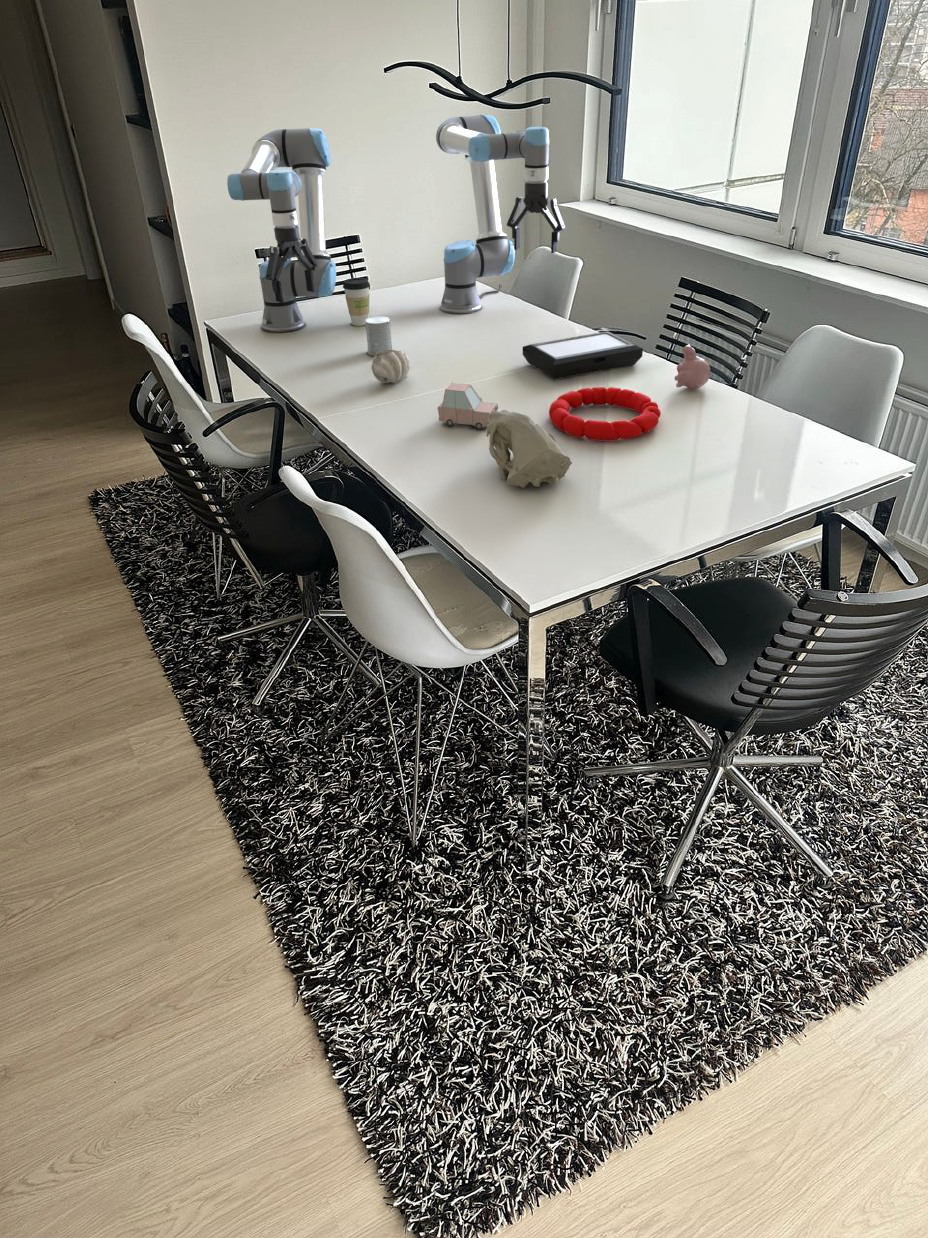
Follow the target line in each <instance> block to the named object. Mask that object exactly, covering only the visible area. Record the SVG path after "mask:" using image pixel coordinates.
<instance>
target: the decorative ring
mask: <svg viewBox="0 0 928 1238" xmlns="http://www.w3.org/2000/svg"><path fill="white" fill-rule="evenodd" d="M583 405H584V406H586V407H587V406H591V405H593V406H604V405H608V406H614V407H619V408H624V409H628V410H632V411H635V412H636V413H638V414H639V415H637V416H635V417H632V418H631V419H630V420H625V419H624V420H623V419H622V420H614V421H611V422H609V421H607V420H606V421H605V420H593V419H587V420H586V421H585V419H584V418H582V417H579V416H577V415H573V414H571V413H570V410H571V409H579V408H581V407H582V406H583ZM548 416H549V419H550V422H551V423H552V425H553V426H554V427H555V428H556V429H558V430H559V431H561V432H563V433H567V434H568V435H569V436H573V437H576V438H580V439H582V438H583V437H585V438H586V439H587V440H591V441H601V442H602V441H603V442H608V441H609V442H610V441H611V442H612V441H615V442H616V441H618V440H630V439H634V438H638V437H641V436H642V434H647V433H650V432H651V431H653V430H654V429H655V428H656V427H657V426H658V424H659V422H660V421H659V420H660V417H661V410H660V408H659V405H658V403H657V402H656V401H652V399H651V397H649V396H648V395H646V394H644V393H642V392H635V391H634V390H632V389H628V388H624V389H622V388H620V387H613V386H612V387H611V386H610V387H608V388H606V387H604V386H594V387H585V388H584V387H583V388H580V389H578V390H571V391H568V392H565V393H563V394H561V395H560V396H558V397H557V398H556V400H554V401H552V403H551V404H550V407H549V409H548Z"/></svg>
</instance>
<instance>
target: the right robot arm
mask: <svg viewBox="0 0 928 1238" xmlns="http://www.w3.org/2000/svg"><path fill="white" fill-rule="evenodd" d="M549 132H550V130H549V129H548V127H545V126H530V127H527V128H526V129H525V130H522V129H521V130H514V131H513V132H503V133H502V131H501V127H500V125H499V122H498V120H497V119H496V118H495V117H494V115H493V116H492V115H490V114H475V115H466V116H465V115H464V116H454V117H449V118H446V119H445V120H444V121H442V122H441V123H440V124H439V126H438V127H437V130H436V133H435V140H436V144H437V146H438V148H439V149H440V150H441V151H442V152H444V153H446V154H449V155H455V154H456V155H457V154H461V155H464V158H465V159H464V160H465V161H466V162H468V163H469V165H470V173H471V180H472V188H473V196H474V203H475V204H474V205H475V212H476V213H475V214H476V220H477V228H478V235H477V237H476V238H475V241H473V240H471V239H470V240H468V239H467V240H457V241H455V242H451V243H450V244H448V245H447V246H446V247H445V248H444V250H443V269H444V270H443V271H444V291H443V294H442V299H441V302H440V309H441V311H442V312H445V313H449V314H456V315H457V314H458V315H459V314H470V313H475V312H477V311H479V310H481V308H482V301H481V298H482V297H483V296H485V295H488V294H495V293H498V292H500V291H501V289H502V284H499V285H498V289H496V290H491V291H485V292H482V293H481V294H480V295H479V292H478V289H477V279H478V278H487V277H495V276H501V275H502V276H503V275H507V274H508V273H509V272H511V270H512V269H513V266H514V263H515V256H516V255H515V253H516V252H515V251H517V250H520V249H521V228H520V227H519V226H520V224H521V223H522V222H523V220H524V219H525V218H526V217H527V215H528V214H534V213H535V214H541V215H542V216H543V217H544V219H545V220H546V222H547V223H548V225H549V226H550V227H551V229H552V230H553V231H551V241H550V243H551V245H550V254H555V253H556V252H557V246H558V245H557V244H558V242H559V241H560V233H561V231H563V230H565V229H566V225H565V223H564V220H563V217H562V215H561V212H560V209H559V207H558V200H557V198H556V197H554V198H548V193H549V191H548V190H549V183H548V182H547V181H548V180H549V154H550V153H549V151H550V135H549V134H550V133H549ZM512 159H524V181H526V182H525V183H524V197H522V195H519V196H516V197H515V200H514V201H515V203H514V206H513V208H512V211H511V213H510V215H509V217H508V220H507V222H506V227H509V228H511V238H512V239H513V241H514V242H513V241H511V240H509V239H508V236H507V234H506V233H505V232H504V231H503V228H502V219H501V212H500V203H499V195H498V186H497V178H496V170H495V169H496V168H495V161H499V160H512ZM522 204H524V205H525V207H524V209H523V210H522V212H521V213H520V214H519V216H518V217H517V215H518V213H519V211H520V208H521V206H522ZM547 206H549V207H550V209H551V211H552V213H551V212H550V210H549V208H548V207H547ZM552 214H553V215H552Z"/></svg>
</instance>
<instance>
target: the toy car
mask: <svg viewBox="0 0 928 1238" xmlns="http://www.w3.org/2000/svg"><path fill="white" fill-rule="evenodd" d="M498 409H499V404H498V403H497V402H490V401H489V402H487V401H483V397H481V396H480V395H479V394H478V393H477V391H476V390H475V389H474V386H472V384H469V383H459V382H451V383H450V384H449V385H448V386H447V387H446V388H445V389H444V394H443V399H442V403H440V404H439V405H438V406H437V413H438V421H439V422H443V423H446V425H447V426H448V427H452V426H454V425H455V424H461V425H469V426H473V427H475V429H476V430H479V431H480V430H481V429H483V428H485V427H486V428H487V423H488V422H490V414H491V413H492V412H496V411H499V410H498Z"/></svg>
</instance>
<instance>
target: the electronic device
mask: <svg viewBox="0 0 928 1238" xmlns="http://www.w3.org/2000/svg"><path fill="white" fill-rule="evenodd" d="M643 353H644V348H643V347H642V346H639V345H637V344H635V343H633V342H631V341H629V340H627V339H625V338H623V337H621V336H619V335H617V334H615V333H613V332H610V331H608V330H606V331H600V332H594V333H589V334H583V335H578V336H572V337H566V338H561V339H555V340H548V341H544V342H543V341H542V342H537V343H532V344H527V345H524V346H522V356H523V358H525V360H526V361H527V363H528V365H530V366H532V367H533V368H535V369H537V370H538V371H540V372H542V373H544V374H545V375H547V376H548V377H550V378H551V379H553V380H554V381H555V380H558V379H565V378H569V377H575V376H581V375H586V374H592V373H597V372H601V371H608V370H613V369H617V368H618V369H619V368H624V367H627V366H635V365H636V363H638V362H639V361H640V360H641V358H643V355H644V354H643Z"/></svg>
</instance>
